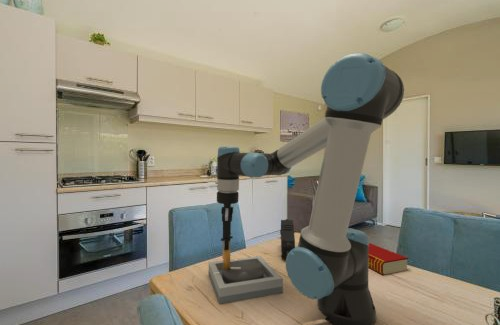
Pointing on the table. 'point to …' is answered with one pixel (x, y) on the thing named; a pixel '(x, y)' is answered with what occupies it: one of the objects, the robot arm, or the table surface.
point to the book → (385, 260)
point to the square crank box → (245, 282)
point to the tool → (287, 237)
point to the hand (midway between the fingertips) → (226, 258)
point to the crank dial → (240, 270)
